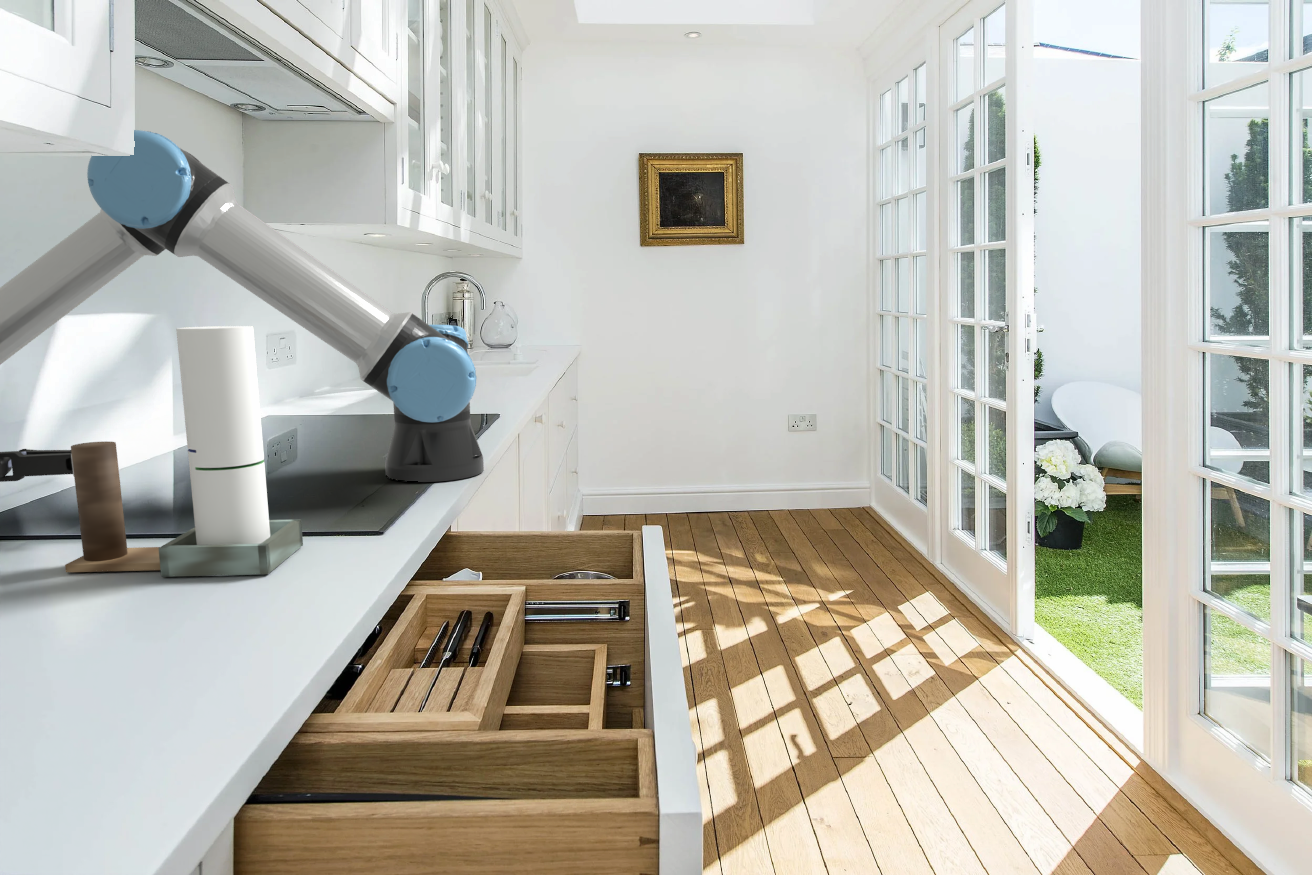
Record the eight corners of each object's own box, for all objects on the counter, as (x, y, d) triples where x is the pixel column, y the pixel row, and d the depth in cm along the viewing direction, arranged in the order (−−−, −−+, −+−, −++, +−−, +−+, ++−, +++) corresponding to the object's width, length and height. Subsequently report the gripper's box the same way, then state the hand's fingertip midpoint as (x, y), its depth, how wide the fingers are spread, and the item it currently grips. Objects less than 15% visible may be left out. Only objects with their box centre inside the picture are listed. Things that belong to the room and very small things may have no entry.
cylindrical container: (252, 548, 102) (233, 325, 97) (284, 560, 97) (266, 326, 93) (186, 563, 96) (163, 328, 92) (218, 576, 92) (195, 329, 88)
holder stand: (52, 579, 91) (36, 454, 89) (109, 549, 101) (97, 436, 99) (268, 573, 92) (258, 450, 90) (303, 545, 102) (294, 433, 100)
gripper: (56, 476, 120) (158, 491, 110) (-184, 518, 98) (-82, 541, 88) (49, 420, 118) (152, 430, 109) (-195, 450, 97) (-93, 466, 87)
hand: (47, 480), depth 99 cm, fingers open, 13 cm apart
